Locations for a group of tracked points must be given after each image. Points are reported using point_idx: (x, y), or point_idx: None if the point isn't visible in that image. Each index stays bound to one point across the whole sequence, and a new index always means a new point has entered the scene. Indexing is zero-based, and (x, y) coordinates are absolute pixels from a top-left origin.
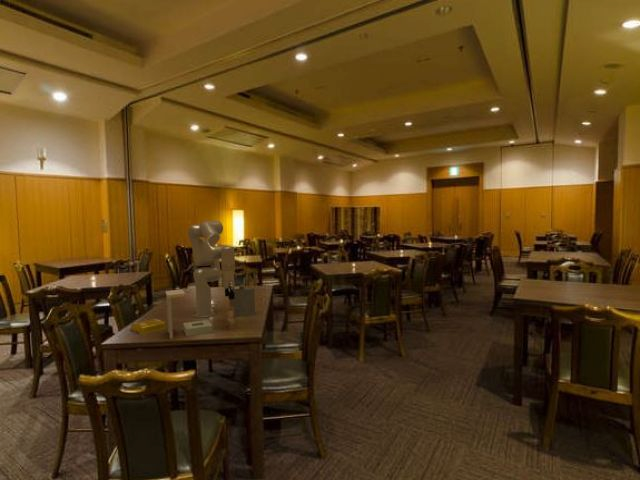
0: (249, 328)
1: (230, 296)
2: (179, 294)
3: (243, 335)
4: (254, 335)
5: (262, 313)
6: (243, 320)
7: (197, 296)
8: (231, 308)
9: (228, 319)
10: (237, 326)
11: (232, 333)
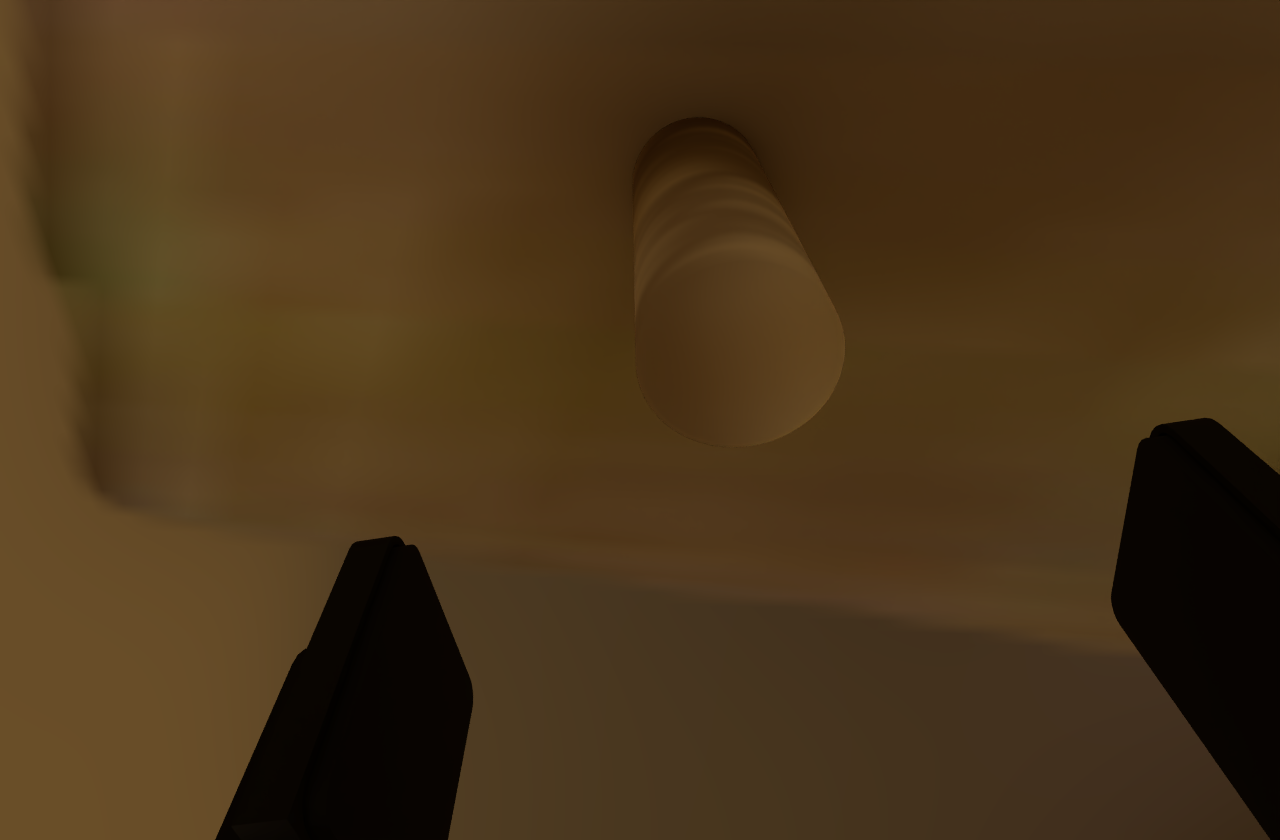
0: (553, 452)
1: (283, 689)
2: None
3: (195, 350)
4: (181, 481)
5: None
6: (1066, 407)
7: None
8: (640, 387)
9: (648, 197)
10: None
11: (335, 193)
